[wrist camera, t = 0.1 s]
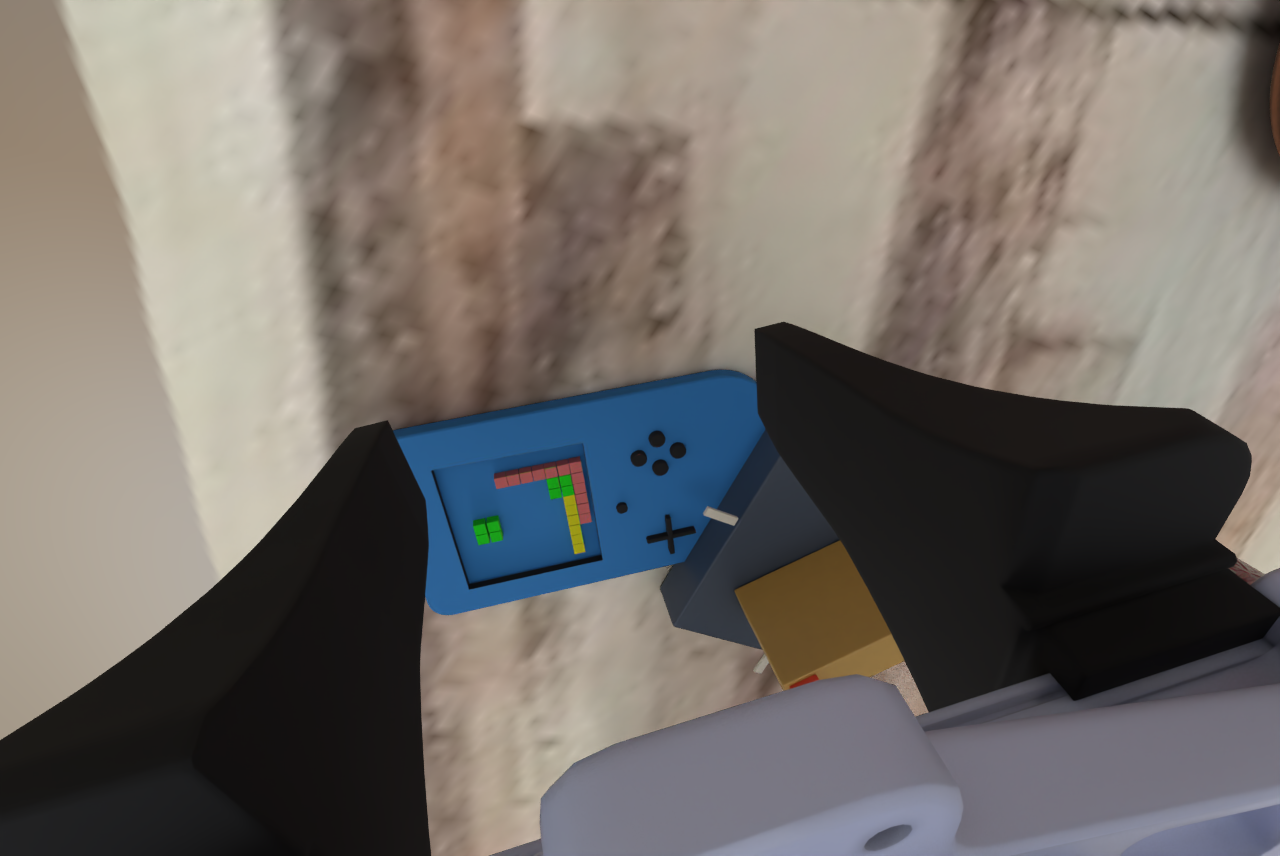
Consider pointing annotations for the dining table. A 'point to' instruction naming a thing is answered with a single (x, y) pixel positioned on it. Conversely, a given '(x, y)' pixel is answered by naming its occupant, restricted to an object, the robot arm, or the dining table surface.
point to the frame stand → (744, 547)
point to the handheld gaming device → (577, 485)
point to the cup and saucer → (1275, 101)
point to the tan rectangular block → (818, 620)
